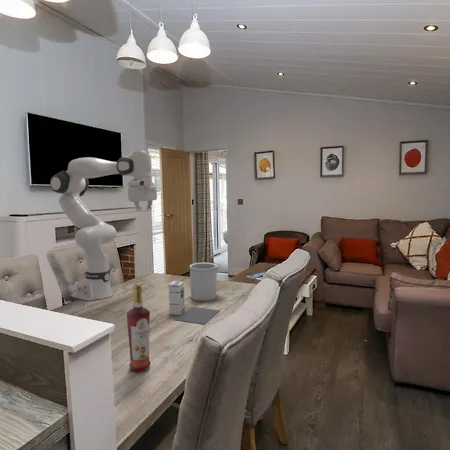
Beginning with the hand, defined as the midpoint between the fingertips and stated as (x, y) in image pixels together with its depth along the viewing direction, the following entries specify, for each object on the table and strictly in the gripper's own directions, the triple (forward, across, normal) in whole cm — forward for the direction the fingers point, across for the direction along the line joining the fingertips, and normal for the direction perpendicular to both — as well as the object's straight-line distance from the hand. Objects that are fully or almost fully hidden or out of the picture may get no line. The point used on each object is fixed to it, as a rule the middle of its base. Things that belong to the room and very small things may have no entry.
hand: (143, 210), depth 178 cm
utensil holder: (+48, -18, +24) cm, 57 cm away
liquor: (+48, +58, +36) cm, 84 cm away
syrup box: (+48, +8, +22) cm, 54 cm away
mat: (+48, +8, +33) cm, 59 cm away
